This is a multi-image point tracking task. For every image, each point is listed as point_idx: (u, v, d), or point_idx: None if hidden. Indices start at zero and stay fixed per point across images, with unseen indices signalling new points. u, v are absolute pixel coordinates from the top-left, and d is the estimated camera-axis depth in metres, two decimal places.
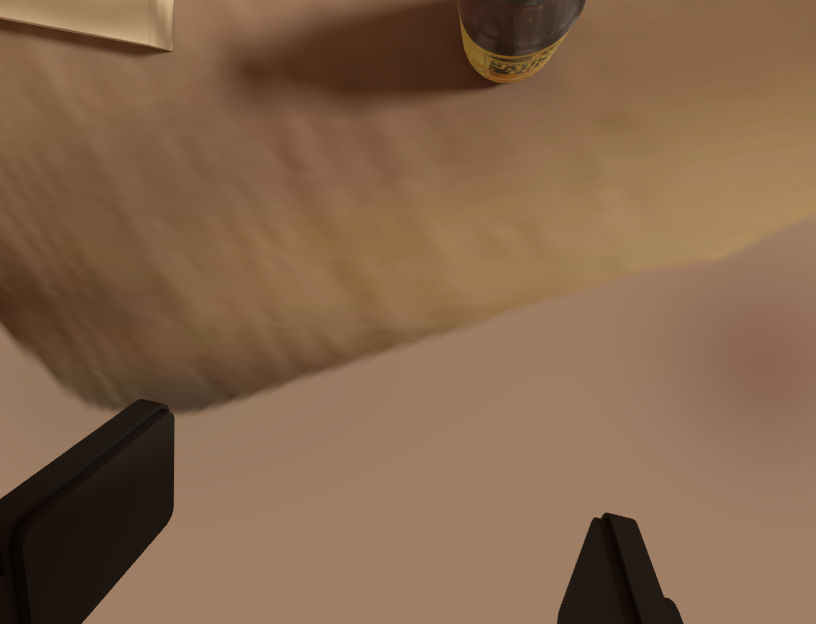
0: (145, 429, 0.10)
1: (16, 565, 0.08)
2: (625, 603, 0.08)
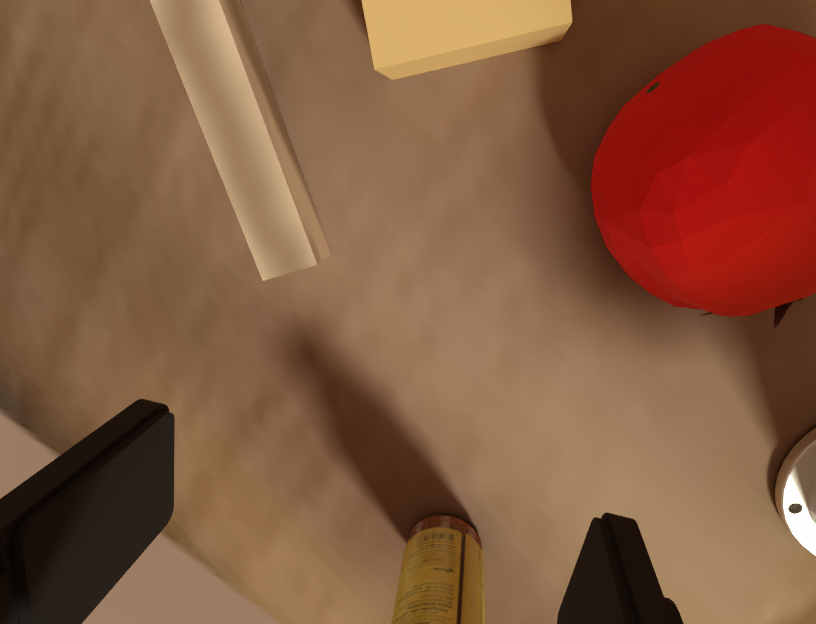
0: (145, 429, 0.10)
1: (16, 565, 0.08)
2: (625, 603, 0.08)
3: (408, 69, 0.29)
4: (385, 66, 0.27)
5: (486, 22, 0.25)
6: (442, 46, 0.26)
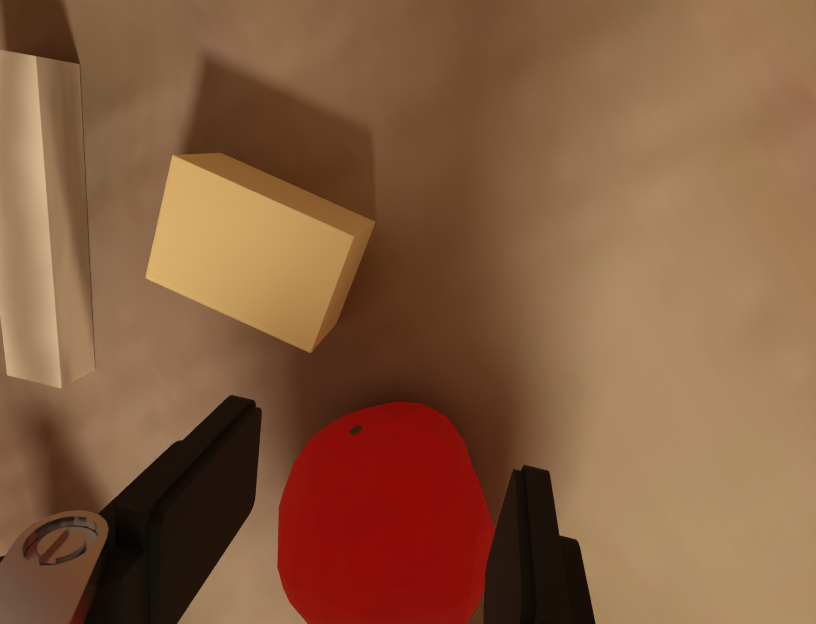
0: (242, 423, 0.11)
1: (153, 546, 0.08)
2: (523, 535, 0.09)
3: None
4: (156, 281, 0.28)
5: (247, 308, 0.28)
6: (207, 301, 0.28)
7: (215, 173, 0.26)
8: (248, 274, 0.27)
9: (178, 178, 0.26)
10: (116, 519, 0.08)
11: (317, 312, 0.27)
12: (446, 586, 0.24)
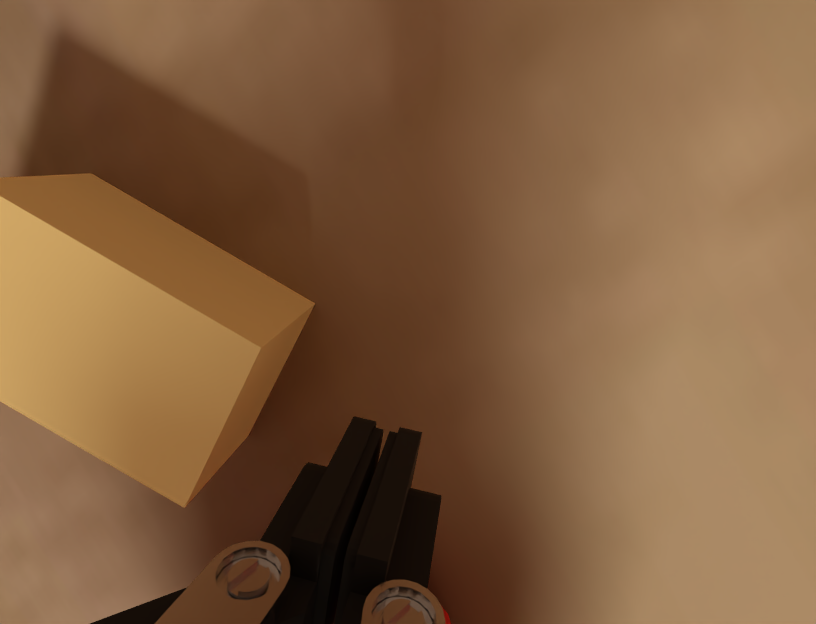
0: (373, 446, 0.11)
1: (324, 575, 0.08)
2: (374, 486, 0.10)
3: None
4: None
5: (89, 430, 0.17)
6: (27, 410, 0.17)
7: (42, 217, 0.15)
8: (91, 380, 0.17)
9: None
10: (291, 549, 0.08)
11: (197, 452, 0.17)
12: None
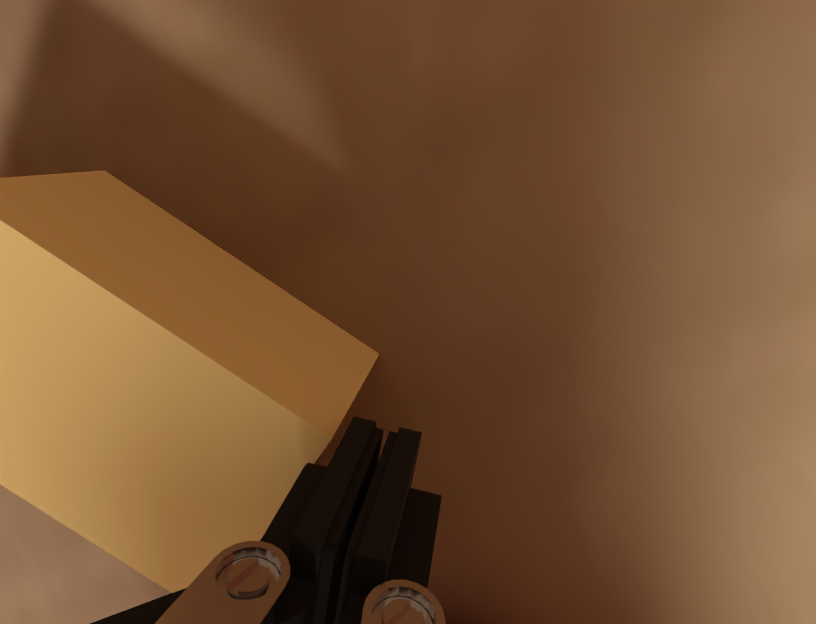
0: (374, 446, 0.11)
1: (324, 575, 0.08)
2: (374, 486, 0.10)
3: None
4: None
5: (89, 513, 0.13)
6: (8, 480, 0.13)
7: (40, 241, 0.11)
8: (95, 454, 0.13)
9: None
10: (291, 549, 0.08)
11: None
12: None
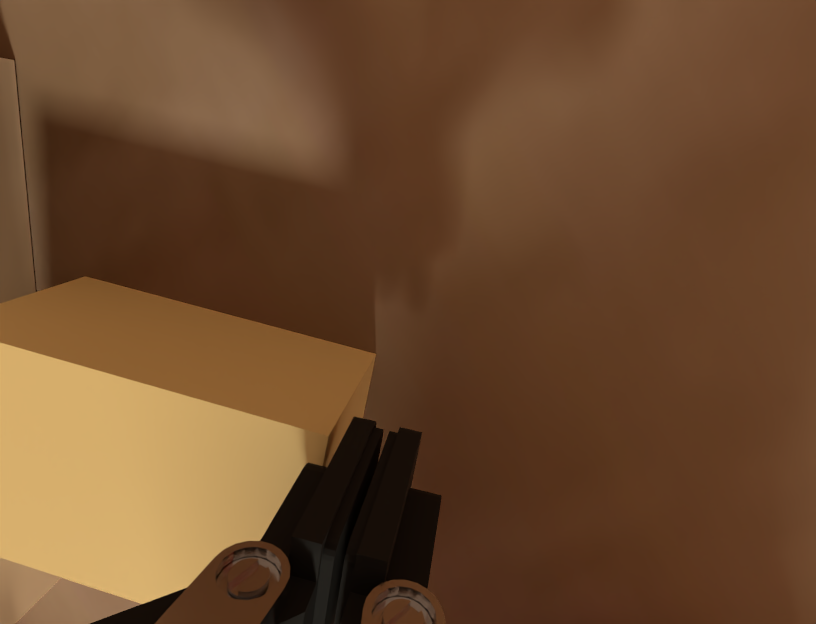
0: (374, 446, 0.11)
1: (324, 575, 0.08)
2: (374, 486, 0.10)
3: None
4: None
5: (152, 583, 0.14)
6: (77, 575, 0.14)
7: (26, 345, 0.12)
8: (137, 525, 0.13)
9: None
10: (291, 550, 0.08)
11: None
12: None
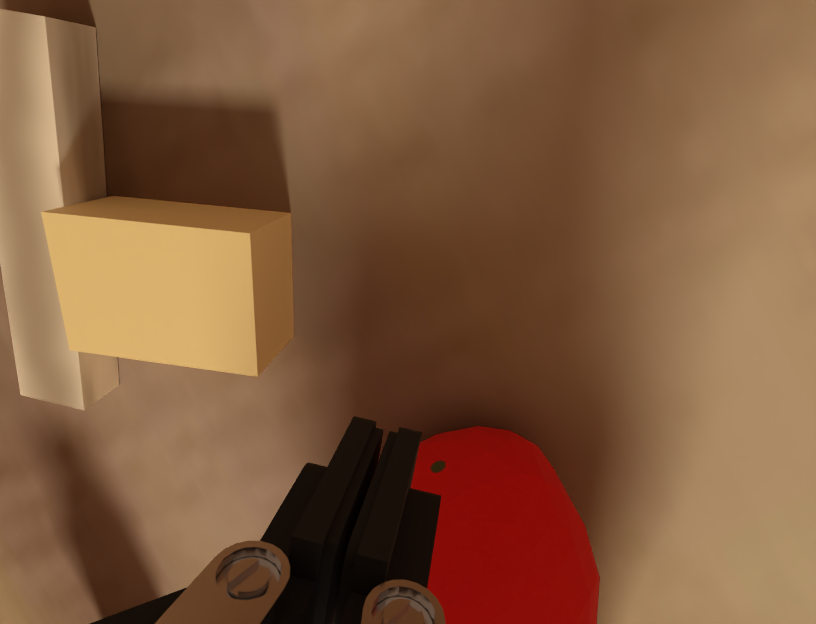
0: (374, 446, 0.11)
1: (324, 575, 0.08)
2: (374, 486, 0.10)
3: None
4: (81, 350, 0.26)
5: (177, 349, 0.25)
6: (136, 354, 0.25)
7: (89, 215, 0.23)
8: (163, 312, 0.24)
9: (57, 234, 0.23)
10: (291, 549, 0.08)
11: (247, 330, 0.24)
12: None
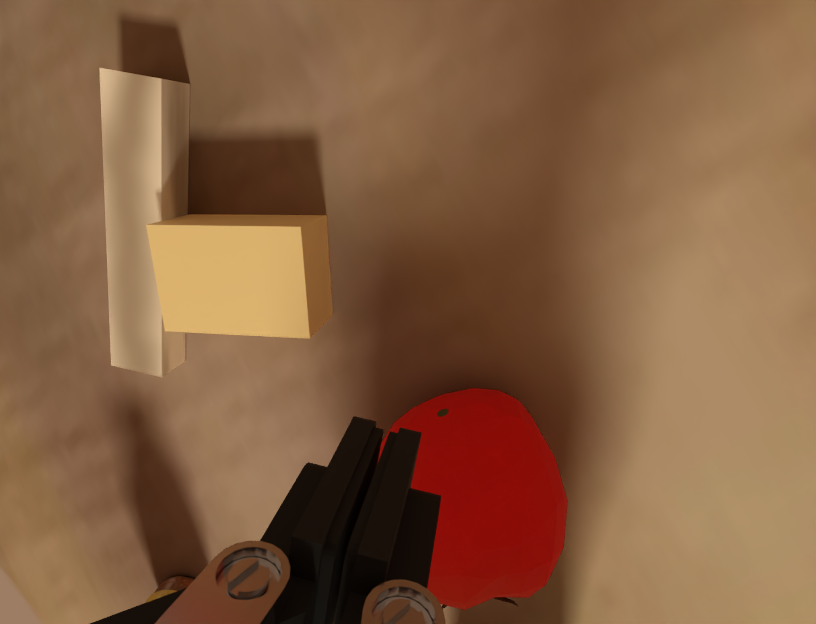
0: (374, 446, 0.11)
1: (324, 575, 0.08)
2: (374, 486, 0.10)
3: None
4: (173, 330, 0.34)
5: (248, 322, 0.32)
6: (216, 329, 0.33)
7: (181, 224, 0.31)
8: (236, 294, 0.32)
9: (157, 241, 0.32)
10: (291, 549, 0.08)
11: (300, 302, 0.31)
12: (534, 547, 0.28)
